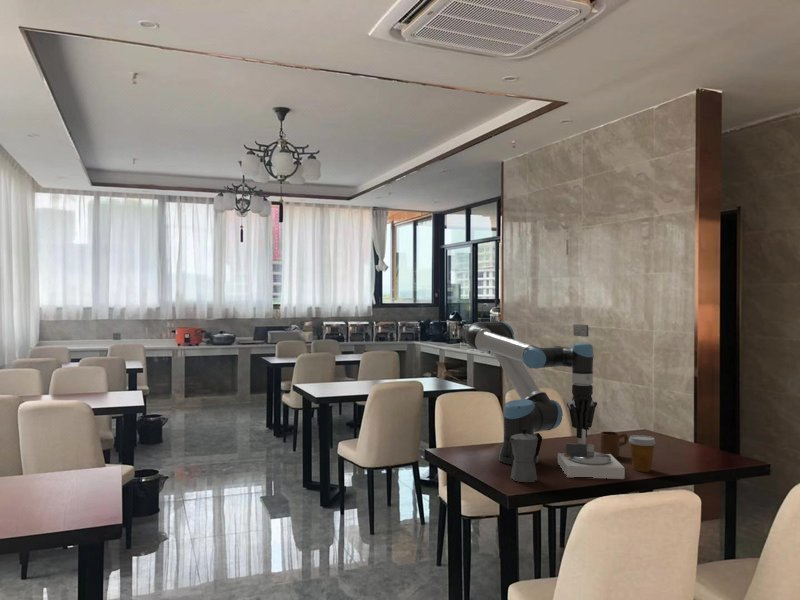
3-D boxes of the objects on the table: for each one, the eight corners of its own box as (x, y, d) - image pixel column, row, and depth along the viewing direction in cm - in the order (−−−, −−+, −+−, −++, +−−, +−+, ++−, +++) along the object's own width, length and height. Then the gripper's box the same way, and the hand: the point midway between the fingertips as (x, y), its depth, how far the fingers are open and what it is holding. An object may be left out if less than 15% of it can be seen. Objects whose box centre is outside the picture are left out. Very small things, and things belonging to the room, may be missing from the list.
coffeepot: (519, 485, 218) (520, 433, 218) (500, 479, 226) (501, 428, 226) (551, 479, 227) (551, 428, 227) (531, 472, 235) (532, 423, 235)
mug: (622, 453, 266) (622, 430, 266) (633, 457, 259) (633, 434, 259) (596, 454, 263) (596, 431, 263) (606, 459, 256) (606, 435, 256)
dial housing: (567, 477, 229) (567, 462, 229) (557, 462, 249) (557, 449, 249) (624, 479, 228) (624, 464, 228) (610, 464, 247) (610, 451, 247)
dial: (610, 456, 243) (610, 442, 243) (611, 466, 229) (611, 451, 229) (567, 453, 248) (567, 439, 248) (565, 462, 234) (565, 447, 234)
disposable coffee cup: (659, 469, 241) (660, 437, 241) (648, 474, 234) (648, 441, 234) (635, 464, 247) (635, 433, 247) (623, 469, 241) (624, 437, 241)
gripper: (575, 386, 237) (574, 450, 237) (602, 384, 242) (601, 447, 242) (562, 383, 243) (561, 445, 243) (589, 382, 249) (588, 442, 249)
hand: (581, 446), depth 243 cm, fingers closed
